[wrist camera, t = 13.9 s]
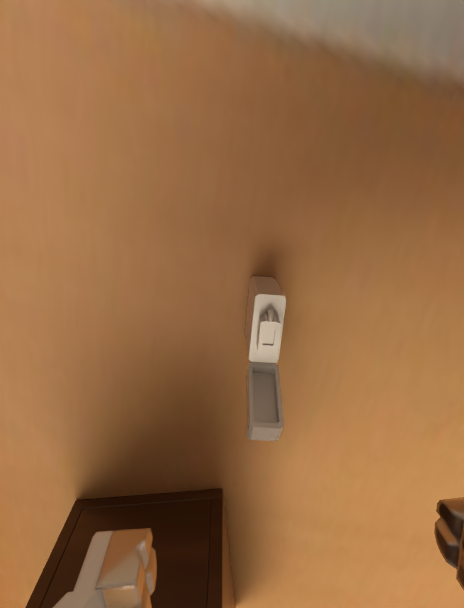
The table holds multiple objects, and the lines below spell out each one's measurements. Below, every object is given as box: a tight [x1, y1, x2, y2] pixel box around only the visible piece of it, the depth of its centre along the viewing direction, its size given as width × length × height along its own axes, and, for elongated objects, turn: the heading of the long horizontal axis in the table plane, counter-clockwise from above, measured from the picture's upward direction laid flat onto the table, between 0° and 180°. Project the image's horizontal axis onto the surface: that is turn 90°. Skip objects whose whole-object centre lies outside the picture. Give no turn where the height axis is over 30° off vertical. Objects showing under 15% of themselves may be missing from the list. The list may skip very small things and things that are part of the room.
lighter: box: [245, 276, 286, 441], centre depth 22 cm, size 7×2×8 cm, turn 175°
